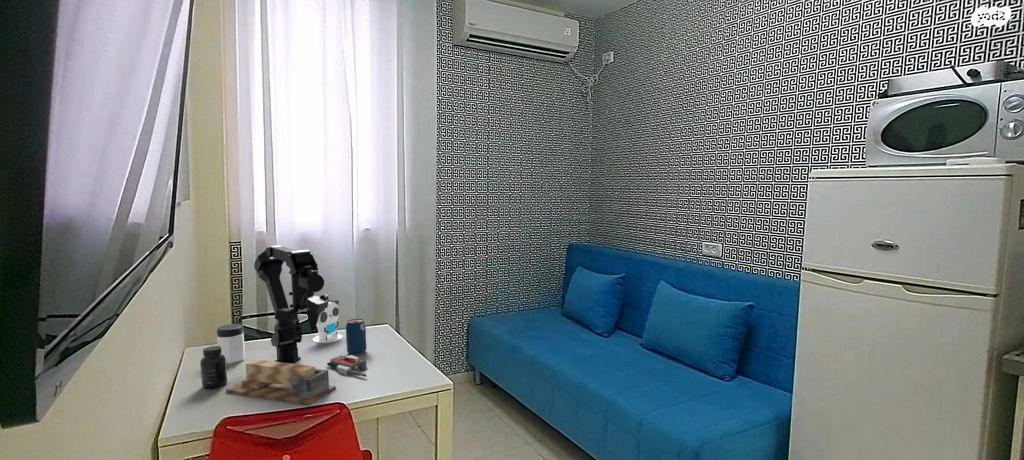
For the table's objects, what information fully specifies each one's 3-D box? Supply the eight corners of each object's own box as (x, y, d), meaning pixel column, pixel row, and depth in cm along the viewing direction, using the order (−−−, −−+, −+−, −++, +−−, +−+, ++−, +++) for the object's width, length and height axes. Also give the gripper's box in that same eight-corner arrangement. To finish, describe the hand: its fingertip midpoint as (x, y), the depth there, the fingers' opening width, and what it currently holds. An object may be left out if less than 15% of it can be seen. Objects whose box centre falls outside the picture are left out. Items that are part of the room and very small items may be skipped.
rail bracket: (226, 392, 153) (224, 371, 153) (258, 378, 165) (256, 358, 164) (307, 405, 144) (306, 382, 143) (335, 389, 155) (334, 368, 154)
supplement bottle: (208, 382, 162) (206, 344, 161) (231, 381, 162) (229, 344, 161) (197, 390, 155) (194, 351, 154) (221, 389, 156) (218, 351, 155)
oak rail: (246, 379, 155) (245, 363, 155) (257, 374, 159) (256, 359, 159) (306, 387, 148) (305, 371, 148) (315, 382, 152) (315, 366, 152)
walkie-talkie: (321, 369, 172) (363, 381, 162) (321, 357, 172) (362, 367, 162) (342, 362, 180) (383, 372, 170) (342, 349, 180) (383, 359, 169)
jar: (220, 357, 185) (218, 325, 184) (245, 354, 188) (244, 322, 187) (217, 365, 177) (214, 331, 176) (243, 362, 180) (241, 328, 179)
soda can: (370, 351, 190) (369, 319, 189) (355, 357, 184) (354, 324, 183) (357, 348, 194) (356, 317, 193) (342, 353, 188) (341, 321, 187)
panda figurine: (328, 344, 199) (326, 306, 198) (305, 341, 203) (303, 304, 202) (348, 336, 210) (347, 300, 209) (326, 333, 214) (324, 298, 213)
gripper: (300, 295, 158) (303, 344, 160) (339, 284, 176) (341, 328, 177) (272, 293, 162) (274, 341, 163) (313, 282, 179) (315, 326, 181)
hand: (303, 334), depth 171 cm, fingers open, 9 cm apart
